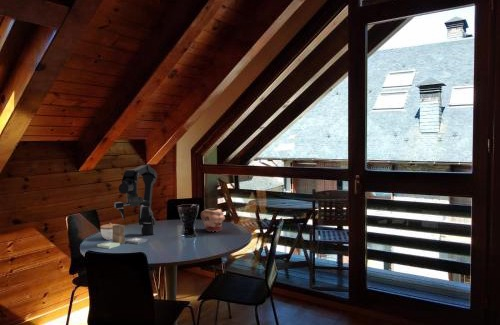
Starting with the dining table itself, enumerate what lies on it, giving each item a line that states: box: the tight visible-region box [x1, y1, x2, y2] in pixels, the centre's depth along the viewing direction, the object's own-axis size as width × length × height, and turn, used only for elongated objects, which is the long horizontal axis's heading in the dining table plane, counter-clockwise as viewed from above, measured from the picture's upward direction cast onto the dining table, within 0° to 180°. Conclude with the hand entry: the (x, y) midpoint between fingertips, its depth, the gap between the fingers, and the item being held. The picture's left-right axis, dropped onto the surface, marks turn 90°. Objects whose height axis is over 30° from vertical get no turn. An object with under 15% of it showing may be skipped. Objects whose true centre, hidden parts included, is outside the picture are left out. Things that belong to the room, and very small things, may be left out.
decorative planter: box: [200, 207, 226, 233], centre depth 250 cm, size 20×12×14 cm, turn 57°
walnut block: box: [112, 223, 126, 245], centre depth 219 cm, size 4×5×10 cm
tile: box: [125, 237, 148, 245], centre depth 221 cm, size 8×9×1 cm
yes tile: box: [96, 241, 121, 250], centre depth 212 cm, size 8×9×1 cm
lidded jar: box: [99, 222, 117, 241], centre depth 229 cm, size 11×11×9 cm
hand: (132, 219), depth 220 cm, fingers open, 9 cm apart
